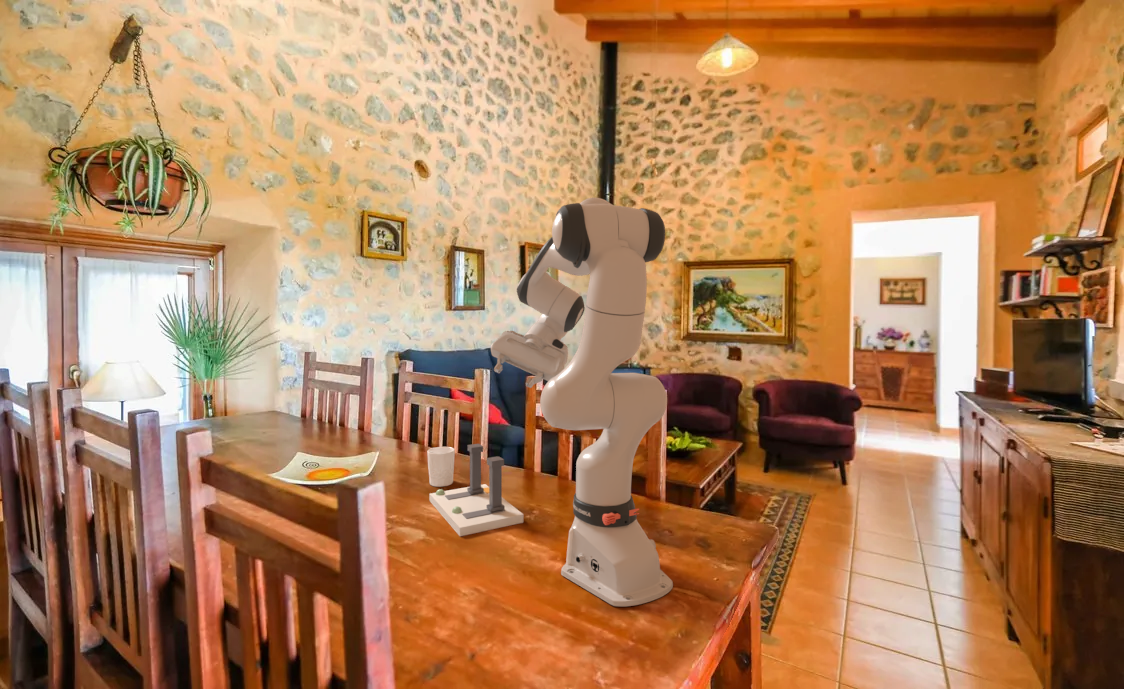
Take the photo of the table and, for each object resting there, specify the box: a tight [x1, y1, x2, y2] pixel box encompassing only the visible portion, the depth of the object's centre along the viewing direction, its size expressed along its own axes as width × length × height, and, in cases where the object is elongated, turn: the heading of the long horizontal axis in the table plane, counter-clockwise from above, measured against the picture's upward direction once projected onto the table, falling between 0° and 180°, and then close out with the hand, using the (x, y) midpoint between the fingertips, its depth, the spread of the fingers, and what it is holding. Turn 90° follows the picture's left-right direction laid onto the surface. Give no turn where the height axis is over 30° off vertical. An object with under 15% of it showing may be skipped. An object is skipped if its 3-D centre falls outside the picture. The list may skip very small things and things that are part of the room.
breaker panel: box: [428, 483, 524, 537], centre depth 131 cm, size 25×16×3 cm, turn 30°
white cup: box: [427, 446, 456, 488], centre depth 152 cm, size 8×8×10 cm
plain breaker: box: [486, 455, 505, 512], centre depth 126 cm, size 3×4×12 cm
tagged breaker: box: [467, 443, 484, 494], centre depth 138 cm, size 3×4×12 cm
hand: (512, 378), depth 130 cm, fingers open, 8 cm apart
